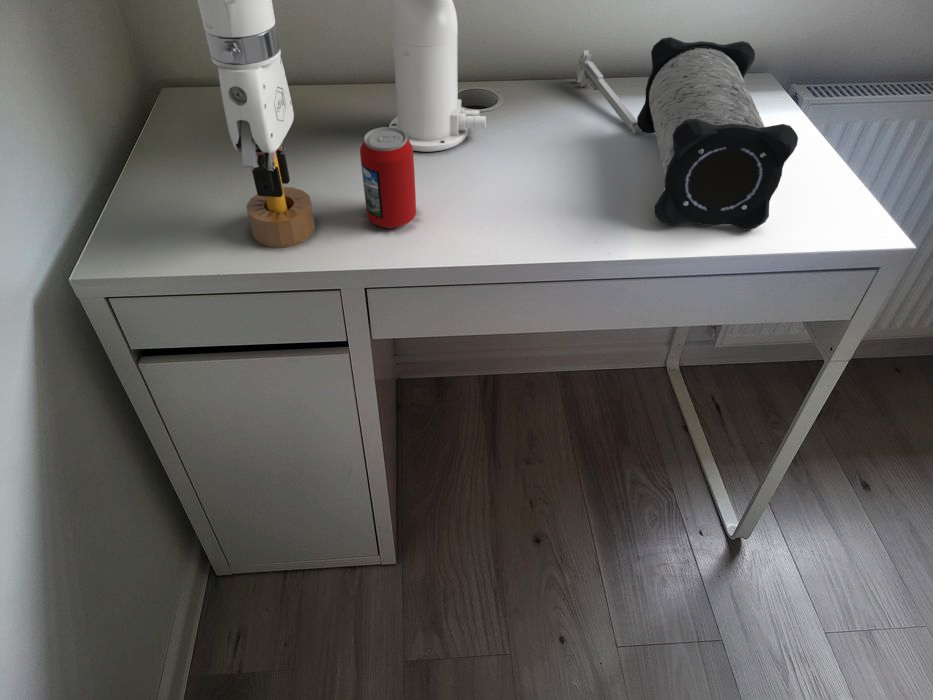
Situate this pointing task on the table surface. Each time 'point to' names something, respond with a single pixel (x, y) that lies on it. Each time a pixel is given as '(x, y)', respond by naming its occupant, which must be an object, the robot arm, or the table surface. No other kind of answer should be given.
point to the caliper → (603, 89)
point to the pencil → (275, 202)
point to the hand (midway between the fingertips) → (274, 187)
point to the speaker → (711, 135)
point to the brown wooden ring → (282, 219)
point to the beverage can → (388, 177)
